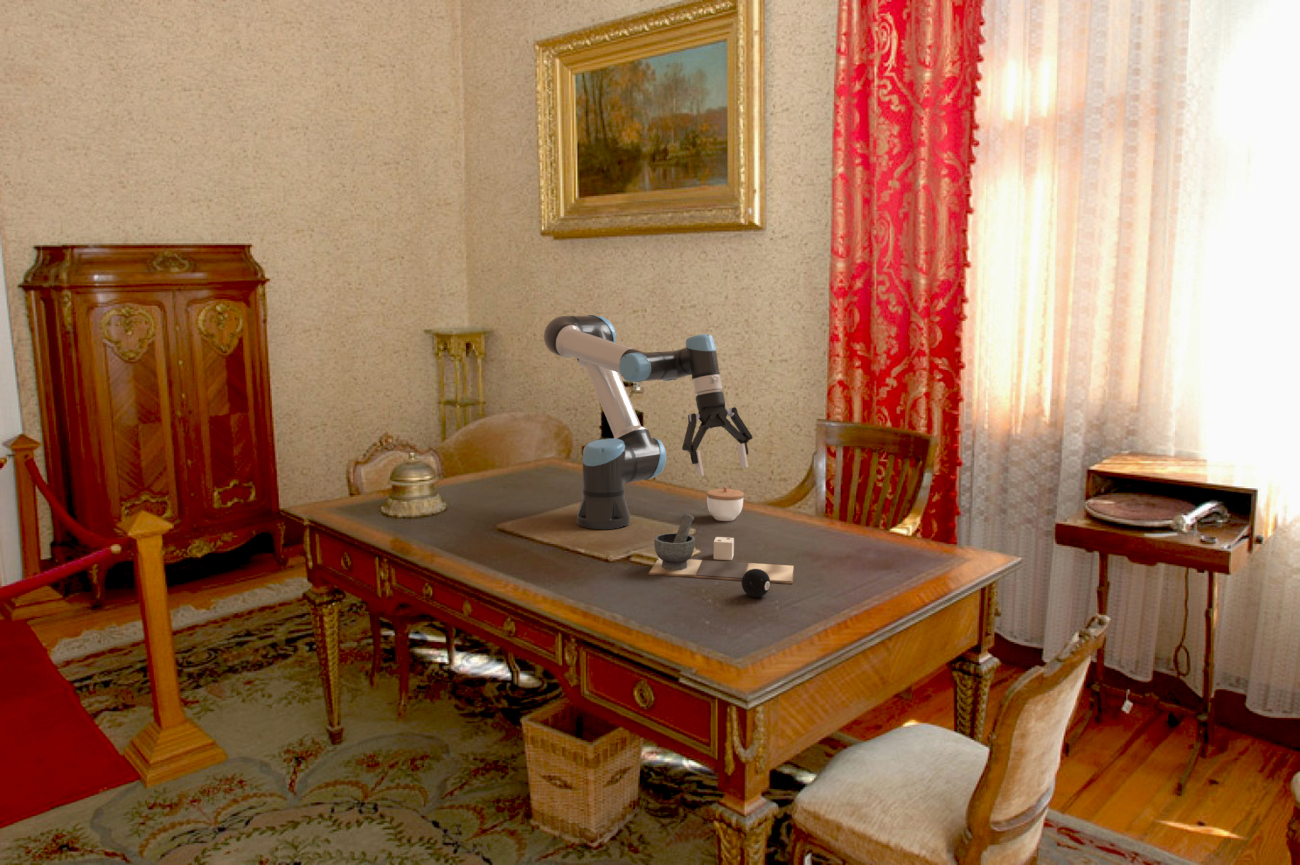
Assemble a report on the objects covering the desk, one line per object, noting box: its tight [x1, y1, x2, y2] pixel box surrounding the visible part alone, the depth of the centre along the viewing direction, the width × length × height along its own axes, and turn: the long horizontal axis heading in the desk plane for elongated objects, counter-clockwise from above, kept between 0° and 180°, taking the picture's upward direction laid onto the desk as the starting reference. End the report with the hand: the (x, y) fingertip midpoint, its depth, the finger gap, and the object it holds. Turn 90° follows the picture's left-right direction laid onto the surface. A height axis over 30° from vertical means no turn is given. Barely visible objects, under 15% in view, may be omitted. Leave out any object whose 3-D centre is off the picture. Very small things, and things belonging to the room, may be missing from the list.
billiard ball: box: [741, 569, 771, 598], centre depth 194 cm, size 6×6×6 cm
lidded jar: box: [706, 486, 745, 522], centre depth 262 cm, size 11×11×9 cm
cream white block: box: [713, 536, 735, 561], centre depth 223 cm, size 4×4×5 cm
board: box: [647, 558, 795, 585], centre depth 212 cm, size 33×13×1 cm, turn 79°
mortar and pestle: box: [654, 513, 696, 570], centre depth 213 cm, size 11×9×12 cm
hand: (722, 471), depth 239 cm, fingers open, 13 cm apart
